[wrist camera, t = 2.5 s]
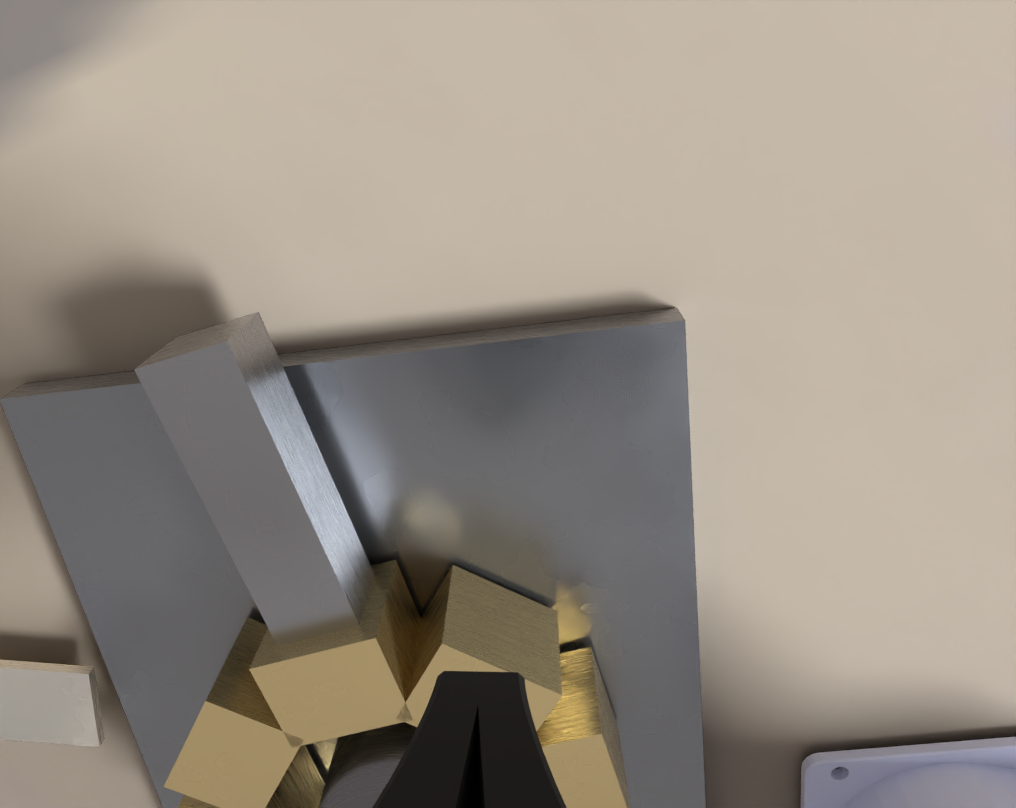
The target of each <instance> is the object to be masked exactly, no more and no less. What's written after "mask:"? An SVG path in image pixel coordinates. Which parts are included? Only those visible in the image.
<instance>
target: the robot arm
mask: <svg viewBox="0 0 1016 808" xmlns="http://www.w3.org/2000/svg"><path fill="white" fill-rule="evenodd" d="M837 767H840V768H838V769H835V768H837ZM372 808H567V807H566V805H565V803H564V801H563V798H562V796H561V794H560V792H559V789H558V787H557V785H556V782H555V780H554V777H553V775H552V772H551V770H550V767H549V765H548V762H547V760H546V757H545V754H544V752H543V749H542V746H541V743H540V741H539V738H538V735H537V731H536V728H535V725H534V722H533V718H532V715H531V711H530V707H529V703H528V699H527V693H526V687H525V678H524V677H523V676H522V675H521V674H519V673H518V672H478V671H443V672H442V673H441V674H440V675H438V676H437V679H436V683H435V686H434V689H433V692H432V694H431V697H430V700H429V702H428V705H427V707H426V709H425V712H424V714H423V716H422V718H421V720H420V722H419V725H418V727H417V729H416V731H415V733H414V735H413V737H412V739H411V741H410V743H409V745H408V747H407V748H406V750H405V752H404V754H403V756H402V758H401V760H400V762H399V764H398V765H397V767H396V769H395V771H394V773H393V774H392V776H391V778H390V780H389V781H388V783H387V785H386V786H385V788H384V789H383V791H382V793H381V794H380V796H379V798H378V799H377V801H376V802H375V804H374V806H373V807H372ZM801 808H1016V737H1004V738H992V739H980V740H967V741H955V742H943V743H930V744H918V745H906V746H894V747H881V748H869V749H857V750H844V751H832V752H820V753H814V754H811V755H810V756H808V757H807V758H806V759H805V760H804V761H803V763H802V766H801Z"/></svg>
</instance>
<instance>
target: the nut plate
mask: <svg viewBox="0 0 1016 808" xmlns="http://www.w3.org/2000/svg"><path fill="white" fill-rule="evenodd" d="M277 355H278V357H279V359H280V361H281V364H282V366H283V368H284V370H285V373H286V375H287V377H288V380H289V382H290V384H291V386H292V389H293V391H294V393H295V395H296V398H297V400H298V402H299V404H300V407H301V409H302V411H303V413H304V416H305V418H306V420H307V422H308V425H309V427H310V429H311V432H312V434H313V436H314V438H315V441H316V443H317V445H318V447H319V450H320V452H321V454H322V456H323V459H324V461H325V463H326V465H327V468H328V470H329V472H330V474H331V477H332V479H333V481H334V483H335V486H336V488H337V490H338V493H339V495H340V497H341V499H342V502H343V504H344V506H345V508H346V511H347V513H348V515H349V517H350V520H351V522H352V524H353V526H354V529H355V531H356V533H357V535H358V538H359V540H360V542H361V545H362V547H363V549H364V551H365V554H366V556H367V558H368V560H369V563H370V565H371V566H373V565H377V564H381V563H385V562H389V561H392V560H396V562H397V564H398V566H399V569H400V571H401V573H402V576H403V578H404V580H405V583H406V585H407V587H408V590H409V592H410V594H411V597H412V599H413V601H414V604H415V606H416V608H417V611H418V613H419V615H420V618H421V617H422V616H423V614H424V612H425V610H426V609H427V607H428V605H429V604H430V602H431V600H432V599H433V597H434V595H435V594H436V592H437V590H438V589H439V587H440V585H441V584H442V582H443V580H444V579H445V577H446V575H447V574H448V572H449V570H450V568H451V567H452V565H455V566H457V567H459V568H461V569H464V570H466V571H468V572H470V573H473V574H475V575H477V576H479V577H481V578H484V579H486V580H488V581H490V582H493V583H495V584H497V585H499V586H502V587H504V588H506V589H508V590H510V591H513V592H515V593H517V594H519V595H522V596H524V597H526V598H528V599H530V600H533V601H535V602H537V603H539V604H542V605H544V606H546V607H548V608H551V609H553V610H555V611H557V619H558V634H559V649H560V653H565V652H569V651H573V650H577V649H582V648H586V647H590V646H591V648H592V651H593V654H594V657H595V660H596V663H597V666H598V669H599V672H600V675H601V678H602V681H603V684H604V687H605V690H606V693H607V696H608V699H609V702H610V705H611V708H612V711H613V714H614V717H615V720H616V723H617V726H618V729H619V734H620V741H621V748H622V754H623V761H624V768H625V775H626V781H627V788H628V795H629V802H630V808H706V801H705V777H704V754H703V730H702V707H701V683H700V660H699V636H698V613H697V589H696V566H695V542H694V519H693V495H692V472H691V448H690V425H689V402H688V378H687V355H686V331H685V319H684V318H683V316H682V315H681V313H680V312H679V310H678V309H677V308H671V309H662V310H654V311H645V312H637V313H628V314H620V315H611V316H602V317H594V318H585V319H577V320H568V321H559V322H551V323H542V324H534V325H525V326H517V327H508V328H499V329H491V330H482V331H474V332H465V333H456V334H448V335H439V336H431V337H422V338H414V339H405V340H396V341H388V342H379V343H371V344H362V345H353V346H345V347H336V348H328V349H319V350H311V351H302V352H293V353H285V354H277ZM0 402H1V405H2V407H3V410H4V412H5V415H6V417H7V420H8V422H9V425H10V427H11V430H12V432H13V435H14V437H15V440H16V442H17V445H18V447H19V450H20V452H21V455H22V457H23V460H24V462H25V465H26V467H27V470H28V472H29V475H30V477H31V480H32V482H33V485H34V487H35V490H36V492H37V495H38V497H39V500H40V502H41V505H42V507H43V510H44V512H45V515H46V517H47V520H48V522H49V525H50V527H51V530H52V532H53V535H54V537H55V540H56V542H57V545H58V547H59V550H60V552H61V555H62V557H63V560H64V562H65V565H66V567H67V570H68V572H69V575H70V577H71V580H72V582H73V585H74V587H75V590H76V592H77V595H78V597H79V600H80V602H81V605H82V607H83V610H84V612H85V615H86V617H87V620H88V622H89V625H90V627H91V630H92V632H93V635H94V637H95V640H96V642H97V645H98V647H99V649H100V652H101V654H102V657H103V659H104V662H105V664H106V667H107V669H108V672H109V674H110V677H111V679H112V682H113V684H114V687H115V689H116V692H117V694H118V697H119V699H120V702H121V704H122V707H123V709H124V712H125V714H126V717H127V719H128V722H129V724H130V727H131V729H132V732H133V734H134V737H135V739H136V742H137V744H138V747H139V749H140V752H141V754H142V757H143V759H144V762H145V764H146V767H147V769H148V772H149V774H150V777H151V779H152V782H153V784H154V787H155V789H156V792H157V794H158V797H159V799H160V802H161V804H162V807H163V808H178V806H179V804H180V802H181V800H182V798H183V796H184V794H182V793H179V792H176V791H173V790H171V789H168V788H165V787H164V785H165V783H166V781H167V778H168V776H169V774H170V772H171V770H172V768H173V766H174V764H175V762H176V760H177V758H178V756H179V754H180V752H181V750H182V748H183V746H184V744H185V742H186V740H187V738H188V736H189V734H190V732H191V729H192V727H193V725H194V723H195V721H196V719H197V717H198V715H199V713H200V711H201V709H202V707H203V705H204V703H205V701H206V699H207V697H208V695H209V693H210V691H211V689H212V687H213V685H214V683H215V681H216V679H217V677H218V675H219V673H220V671H221V669H222V667H223V665H224V663H225V661H226V659H227V657H228V655H229V653H230V651H231V649H232V647H233V645H234V643H235V641H236V639H237V637H238V635H239V633H240V631H241V629H242V627H243V625H244V623H245V621H246V619H247V617H248V618H251V619H253V620H256V621H258V622H260V623H263V624H265V625H266V623H265V621H264V619H263V617H262V615H261V613H260V611H259V609H258V607H257V606H256V604H255V602H254V600H253V598H252V596H251V594H250V592H249V590H248V588H247V586H246V584H245V582H244V581H243V579H242V577H241V575H240V573H239V571H238V569H237V567H236V565H235V563H234V561H233V559H232V557H231V555H230V554H229V552H228V550H227V548H226V546H225V544H224V542H223V540H222V538H221V536H220V534H219V532H218V530H217V528H216V527H215V525H214V523H213V521H212V519H211V517H210V515H209V513H208V511H207V509H206V507H205V505H204V503H203V501H202V500H201V498H200V496H199V494H198V492H197V490H196V488H195V486H194V484H193V482H192V480H191V478H190V476H189V474H188V473H187V471H186V469H185V467H184V465H183V463H182V461H181V459H180V457H179V455H178V453H177V451H176V449H175V447H174V446H173V444H172V442H171V440H170V438H169V436H168V434H167V432H166V430H165V428H164V426H163V424H162V422H161V420H160V419H159V417H158V415H157V413H156V411H155V409H154V407H153V405H152V403H151V401H150V399H149V397H148V395H147V393H146V392H145V390H144V388H143V386H142V384H141V382H140V380H139V378H138V376H137V374H136V372H135V371H130V372H122V373H113V374H105V375H96V376H87V377H79V378H70V379H62V380H53V381H44V382H36V383H27V384H23V385H21V386H20V387H18V388H17V389H15V390H13V391H12V392H10V393H9V394H7V395H5V396H4V397H2V398H1V399H0ZM416 729H417V727H415V726H413V725H411V724H408V723H406V722H402V723H398V724H393V725H389V726H385V727H380V728H376V729H372V730H367V731H363V732H359V733H354V734H350V735H346V736H341V737H337V738H333V739H328V740H324V741H320V742H315V743H311V744H306V745H305V746H306V748H307V750H308V752H309V754H310V756H311V758H312V759H313V761H314V763H315V765H316V767H317V769H318V771H319V773H320V774H321V776H322V778H323V780H324V782H325V786H324V789H323V793H322V797H321V800H320V804H319V807H318V808H372V807H373V806H374V804H375V802H376V801H377V799H378V798H379V796H380V794H381V793H382V791H383V789H384V788H385V786H386V785H387V783H388V781H389V780H390V778H391V776H392V774H393V773H394V771H395V769H396V767H397V765H398V764H399V762H400V760H401V758H402V756H403V754H404V752H405V750H406V748H407V747H408V745H409V743H410V741H411V739H412V737H413V735H414V733H415V731H416ZM104 739H105V738H104V731H103V725H102V718H101V711H100V704H99V697H98V690H97V684H96V677H95V670H94V667H92V666H79V665H66V664H53V663H40V662H27V661H14V660H1V659H0V740H11V741H25V742H38V743H52V744H65V745H78V746H92V747H100V745H101V744H102V742H103V741H104Z"/></svg>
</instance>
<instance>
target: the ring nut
mask: <svg viewBox="0 0 1016 808" xmlns="http://www.w3.org/2000/svg"><path fill="white" fill-rule="evenodd" d="M134 370H135V372H136V374H137V376H138V378H139V380H140V382H141V384H142V386H143V388H144V390H145V392H146V393H147V395H148V397H149V399H150V401H151V403H152V405H153V407H154V409H155V411H156V413H157V415H158V417H159V419H160V420H161V422H162V424H163V426H164V428H165V430H166V432H167V434H168V436H169V438H170V440H171V442H172V444H173V446H174V447H175V449H176V451H177V453H178V455H179V457H180V459H181V461H182V463H183V465H184V467H185V469H186V471H187V473H188V474H189V476H190V478H191V480H192V482H193V484H194V486H195V488H196V490H197V492H198V494H199V496H200V498H201V500H202V501H203V503H204V505H205V507H206V509H207V511H208V513H209V515H210V517H211V519H212V521H213V523H214V525H215V527H216V528H217V530H218V532H219V534H220V536H221V538H222V540H223V542H224V544H225V546H226V548H227V550H228V552H229V554H230V555H231V557H232V559H233V561H234V563H235V565H236V567H237V569H238V571H239V573H240V575H241V577H242V579H243V581H244V582H245V584H246V586H247V588H248V590H249V592H250V594H251V596H252V598H253V600H254V602H255V604H256V606H257V607H258V609H259V611H260V613H261V615H262V617H263V619H264V621H265V623H266V625H265V624H263V623H260V622H258V621H256V620H253V619H251V618H248V617H247V619H246V621H245V623H244V625H243V627H242V629H241V631H240V633H239V635H238V637H237V639H236V641H235V643H234V645H233V647H232V649H231V651H230V653H229V655H228V657H227V659H226V661H225V663H224V665H223V667H222V669H221V671H220V673H219V675H218V677H217V679H216V681H215V683H214V685H213V687H212V689H211V691H210V693H209V695H208V697H207V699H206V701H205V703H204V705H203V707H202V709H201V711H200V713H199V715H198V717H197V719H196V721H195V723H194V725H193V727H192V729H191V732H190V734H189V736H188V738H187V740H186V742H185V744H184V746H183V748H182V750H181V752H180V754H179V756H178V758H177V760H176V762H175V764H174V766H173V768H172V770H171V772H170V774H169V776H168V778H167V781H166V783H165V785H164V787H165V788H168V789H171V790H173V791H176V792H179V793H182V794H184V796H183V798H182V800H181V802H180V804H179V806H178V808H318V807H319V804H320V800H321V797H322V793H323V789H324V786H325V782H324V780H323V778H322V776H321V774H320V773H319V771H318V769H317V767H316V765H315V763H314V761H313V759H312V758H311V756H310V754H309V752H308V750H307V748H306V746H305V745H306V744H311V743H315V742H320V741H324V740H328V739H333V738H337V737H341V736H346V735H350V734H354V733H359V732H363V731H367V730H372V729H376V728H380V727H385V726H389V725H393V724H398V723H402V722H406V723H408V724H411V725H413V726H415V727H418V725H419V722H420V720H421V718H422V716H423V714H424V712H425V709H426V707H427V705H428V702H429V700H430V697H431V694H432V692H433V689H434V686H435V683H436V679H437V676H438V675H440V674H441V673H442V672H443V671H478V672H518V673H519V674H521V675H522V676H523V677H524V678H525V687H526V693H527V699H528V703H529V707H530V711H531V715H532V718H533V722H534V725H535V728H536V731H537V735H538V738H539V741H540V743H541V746H542V749H543V752H544V754H545V757H546V760H547V762H548V765H549V767H550V770H551V772H552V775H553V777H554V780H555V782H556V785H557V787H558V789H559V792H560V794H561V796H562V798H563V801H564V803H565V805H566V807H567V808H630V802H629V795H628V788H627V781H626V775H625V768H624V761H623V754H622V748H621V741H620V734H619V729H618V726H617V723H616V720H615V717H614V714H613V711H612V708H611V705H610V702H609V699H608V696H607V693H606V690H605V687H604V684H603V681H602V678H601V675H600V672H599V669H598V666H597V663H596V660H595V657H594V654H593V651H592V648H591V646H590V647H586V648H582V649H577V650H573V651H569V652H565V653H560V649H559V634H558V619H557V611H555V610H553V609H551V608H548V607H546V606H544V605H542V604H539V603H537V602H535V601H533V600H530V599H528V598H526V597H524V596H522V595H519V594H517V593H515V592H513V591H510V590H508V589H506V588H504V587H502V586H499V585H497V584H495V583H493V582H490V581H488V580H486V579H484V578H481V577H479V576H477V575H475V574H473V573H470V572H468V571H466V570H464V569H461V568H459V567H457V566H455V565H452V567H451V568H450V570H449V572H448V574H447V575H446V577H445V579H444V580H443V582H442V584H441V585H440V587H439V589H438V590H437V592H436V594H435V595H434V597H433V599H432V600H431V602H430V604H429V605H428V607H427V609H426V610H425V612H424V614H423V616H422V617H421V618H420V615H419V613H418V611H417V608H416V606H415V604H414V601H413V599H412V597H411V594H410V592H409V590H408V587H407V585H406V583H405V580H404V578H403V576H402V573H401V571H400V569H399V566H398V564H397V562H396V560H392V561H389V562H385V563H381V564H377V565H373V566H371V565H370V563H369V560H368V558H367V556H366V554H365V551H364V549H363V547H362V545H361V542H360V540H359V538H358V535H357V533H356V531H355V529H354V526H353V524H352V522H351V520H350V517H349V515H348V513H347V511H346V508H345V506H344V504H343V502H342V499H341V497H340V495H339V493H338V490H337V488H336V486H335V483H334V481H333V479H332V477H331V474H330V472H329V470H328V468H327V465H326V463H325V461H324V459H323V456H322V454H321V452H320V450H319V447H318V445H317V443H316V441H315V438H314V436H313V434H312V432H311V429H310V427H309V425H308V422H307V420H306V418H305V416H304V413H303V411H302V409H301V407H300V404H299V402H298V400H297V398H296V395H295V393H294V391H293V389H292V386H291V384H290V382H289V380H288V377H287V375H286V373H285V370H284V368H283V366H282V364H281V361H280V359H279V357H278V355H277V352H276V350H275V348H274V346H273V343H272V341H271V339H270V337H269V334H268V332H267V330H266V328H265V325H264V323H263V321H262V319H261V316H260V314H259V312H257V313H254V314H250V315H247V316H244V317H241V318H237V319H234V320H231V321H228V322H224V323H221V324H218V325H215V326H211V327H208V328H205V329H202V330H198V331H195V332H192V333H189V334H185V335H182V336H179V337H176V338H174V339H173V340H171V341H170V342H169V343H167V344H166V345H165V346H164V347H162V348H161V349H160V350H158V351H157V352H156V353H155V354H153V355H152V356H151V357H149V358H148V359H147V360H146V361H144V362H143V363H142V364H140V365H139V366H138V367H137V368H135V369H134Z"/></svg>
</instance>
